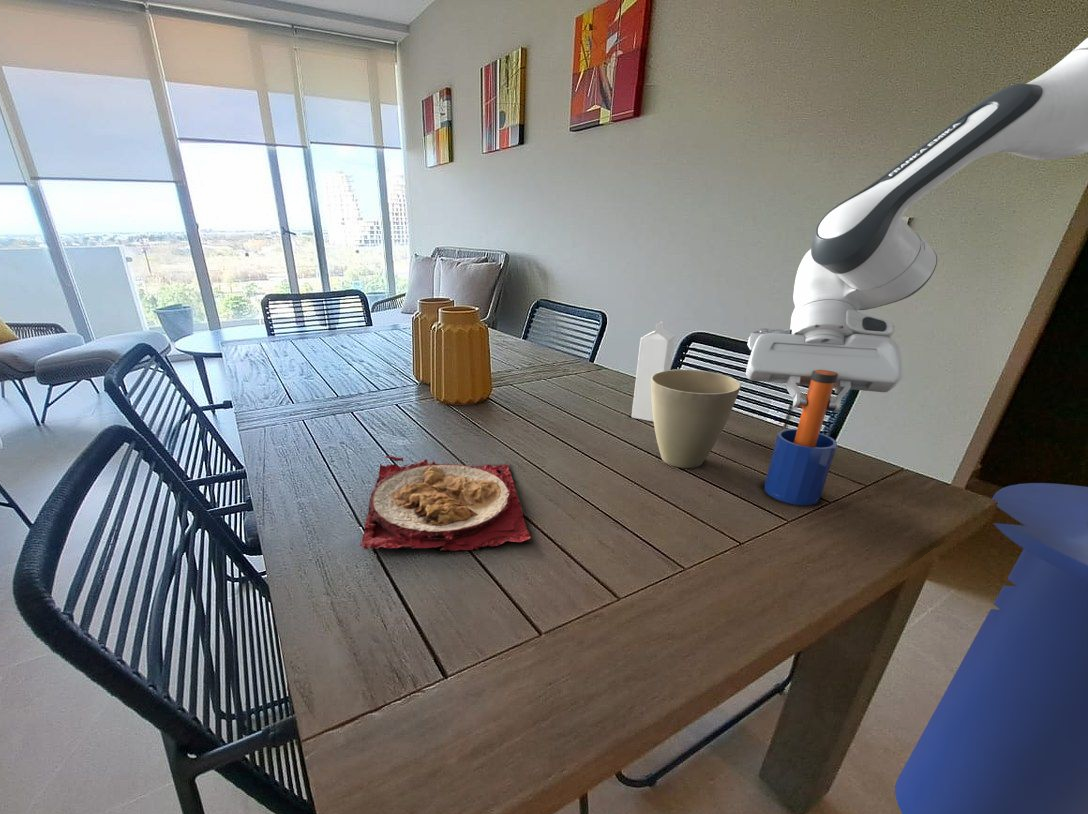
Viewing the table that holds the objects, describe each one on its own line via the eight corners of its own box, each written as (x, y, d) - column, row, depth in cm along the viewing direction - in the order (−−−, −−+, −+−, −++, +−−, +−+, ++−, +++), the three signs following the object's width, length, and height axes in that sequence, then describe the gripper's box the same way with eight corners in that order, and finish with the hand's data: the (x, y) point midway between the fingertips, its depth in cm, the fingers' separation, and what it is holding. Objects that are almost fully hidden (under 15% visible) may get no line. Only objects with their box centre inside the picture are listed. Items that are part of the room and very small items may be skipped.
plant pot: (634, 443, 99) (643, 368, 93) (707, 445, 98) (722, 369, 91) (650, 477, 86) (662, 392, 79) (735, 479, 84) (755, 393, 78)
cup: (808, 483, 83) (824, 430, 79) (827, 507, 76) (846, 450, 71) (757, 480, 84) (771, 427, 80) (772, 503, 77) (788, 446, 73)
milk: (663, 415, 115) (678, 321, 106) (656, 422, 110) (671, 325, 101) (638, 410, 118) (650, 319, 109) (630, 417, 113) (642, 323, 104)
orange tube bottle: (811, 442, 77) (832, 370, 72) (819, 450, 75) (842, 375, 70) (789, 441, 78) (809, 369, 73) (796, 449, 75) (817, 375, 70)
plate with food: (360, 559, 66) (357, 538, 64) (381, 470, 89) (379, 454, 87) (531, 549, 68) (532, 529, 66) (508, 465, 91) (508, 449, 89)
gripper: (753, 316, 78) (744, 390, 74) (908, 324, 71) (907, 406, 67) (746, 339, 84) (737, 409, 80) (888, 347, 76) (887, 425, 72)
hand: (816, 408), depth 73 cm, fingers closed on orange tube bottle, 3 cm apart
